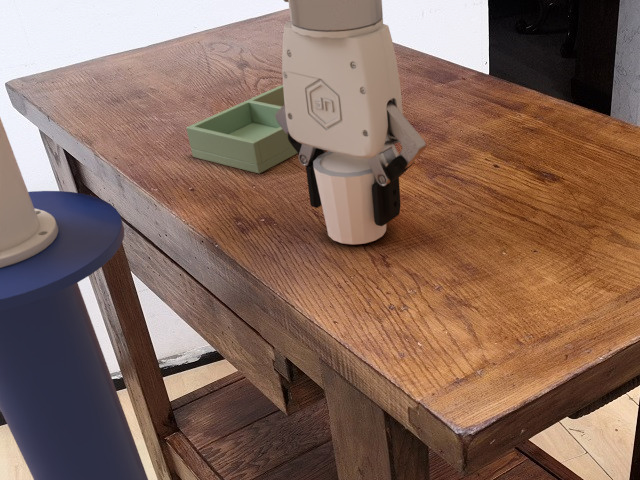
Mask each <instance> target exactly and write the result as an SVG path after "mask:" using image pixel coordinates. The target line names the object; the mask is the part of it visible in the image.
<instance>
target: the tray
mask: <svg viewBox="0 0 640 480" xmlns="http://www.w3.org/2000/svg"><path fill="white" fill-rule="evenodd" d="M284 104H285V103H284V91H283V84H280V85H278V86H277V87H274V88H272V89H270V90H267V91H265V92H263V93H261V94H257V95H256V96H253V97H251V98H249V99H246V100H244V101H242V102H240V103H238V104H236V105H234V106H231V107H229V108H227V109H224V110H222V111H220V112H218V113H215V114H213V115H211V116H208V117H207V118H204V119H201V120H199V121H198V122H196V123H193V124H191V125H189V126H186V127H185V129H186V134H187V138H188V141H189V146H190V149H191V154H192V157H193V158H196V159H200V160H204V161H208V162H211V163H215V164H220V165H223V166H227V167H231V168H235V169H238V170H243V171H247V172H251V173H255V174H261V173H264V172H265V171H267V170H269V169H271V168H273V167H275V166H277V165H279V164H280V163H282V162H285V160H288V159H290V158H292V157H293V156H295V155H297V154H298V152H297V151H296V150H295V149H294V147H293V146H292V145H291V143H290V142H289V140H288V134H286V133H285V132H284V130H283V129H282V128H281V126H280V125H279V123H278V122H277V120H276V118H275V114H276V113H277V112H278V110H279V109H280V108H281V107H282V106H283V105H284Z"/></svg>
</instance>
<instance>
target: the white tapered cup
mask: <svg viewBox="0 0 640 480" xmlns="http://www.w3.org/2000/svg"><path fill="white" fill-rule="evenodd" d="M380 155H381V157H382V159H383V162H384V164H385V166H387V165H388V164H387V161H386V159H385V157H384V155H383V153H381V154H380ZM313 167H314V172H315V176H316V181H317V185H318V190H319V195H320V199H321V204H322V205H321V209H322V212H323V217H324V221H325V226H326V231H327V235H328V237H329V238H330V239H331V240H333V241H335V242H337V243H340V244H345V245H362V244H368V243H372V242H374V241H377V240H379V239H381V238H382V237H383V236H384V235H385V233H386V232H387V223H386V224H385V225H383V226H378V225H376V224H375V222H374V211H373V198H372V185H373V184H375V183H376V182H377V180H376V178H375V176H374V173H373V171H372V169H371V167H370V165H369V162H368V160H367V159H361V158H356V157H352V156H347V155H343V154H339V153H335V152H331V151H327V152H326V153H324V154H322V155H319V156H318V157H317V158H316V159H315V160H314V161H313Z"/></svg>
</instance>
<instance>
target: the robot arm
mask: <svg viewBox="0 0 640 480" xmlns="http://www.w3.org/2000/svg"><path fill="white" fill-rule="evenodd" d="M283 2H285V3H288V9H289V17H290V20H289V21H287V22H285V23H284V27H283V33H282V47H281V48H282V49H281V55H282V56H281V60H282V61H281V66H282V67H281V71H282V85H283V91H284V103H285V104H284V105H283V106H282V107H281V108H280V109H279V110H278V112H277V113H276V114H275V118H276V120H277V122H278V123H279V125H280V126H281V128H282V129H283V130H284V132H285V133H286V134H288V140H289V142H290V143H291V145H292V146H293V147H294V149H295V150H296V151H297V152H298V153H297V154H298V158H297V159H298V161H299V163H300V164H301V166H303V167H305V172H306V180H307V188H308V196H309V203H310V206H311V207H312V208H315V209H318V208H320V207H322V204H321V199H320V195H319V190H318V185H317V181H316V176H315V172H314V167H313V161H314V160H315V159H316V158H317V157H318V156H319V155H322V154H324V153H326V152H328V151H331V152H335V153H339V154H343V155H347V156H352V157H356V158H361V159H367V160H368V162H369V165H370V167H371V169H372V171H373V173H374V176H375V178H376V180H377V182H376V183H375V184H373V185H372V198H373V211H374V222H375V224H376V225H378V226H383V225H385V224H386V225H387V224H388V223H389V222H391V221H392V220H394V219H395V218H397V217H398V216H399V215H400V214H401V213H400V212H401V190H400V189H401V187H400V177H402V176H403V175H404V174H405V172H406V171H407V170H408V169H410V167H412V166H413V164H414V163H415V161H417V159H418V158H419V157H420V156H421V154H422V153H423V152H424V151H425V150H426V148H427V143H426V141H425V140H424V138H423V137H422V136H421V135H420V134H419V132H418V131H417V130H416V129H415V127H414V126H413V125H412V124H411V123H410V122H409V120H408V119H407V118H406V116H404V110H403V97H402V89H401V81H400V75H399V67H398V62H397V56H396V52H395V51H396V50H395V46H394V42H393V39H392V35H391V31H390V26H389V25H388V24H385V23H384V15H383V14H384V13H383V0H283ZM395 144H400V146H401V150H400V152H399V153H398V149H397V148H396V146H395ZM381 153H383V155H384V157H385V159H386V161H387V164H388V165H387V166H385V164H384V162H383V159H382V157H381V155H380V154H381ZM28 192H29V190H28V188H27V185H26V182H25V180H24V177H23V175H22V171H21V169H20V166H19V164H18V161H17V159H16V155H15V153H14V150H13V148H12V145H11V142H10V140H9V137H8V134H7V132H6V129H5V126H4V123H3V121H2V118H1V117H0V268H3V267H6V266H9V265H13V264H16V263H18V262H21V261H24V260H26V259H28V258H30V257H32V256H34V255H36V254H38V253H40V252H41V251H43V250H44V249H46V248H47V247H48V246H49V245H50V244H51V243H52V242H53V241H54V240H55V238H56V237H57V234H58V226H57V223H56V221H55V218H54V217H53V216H52V215H51V214H49V213H47V212H45V211H43V210H39V209H34V206H33V204H32V201H31V198H30V196H29V193H28Z"/></svg>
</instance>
